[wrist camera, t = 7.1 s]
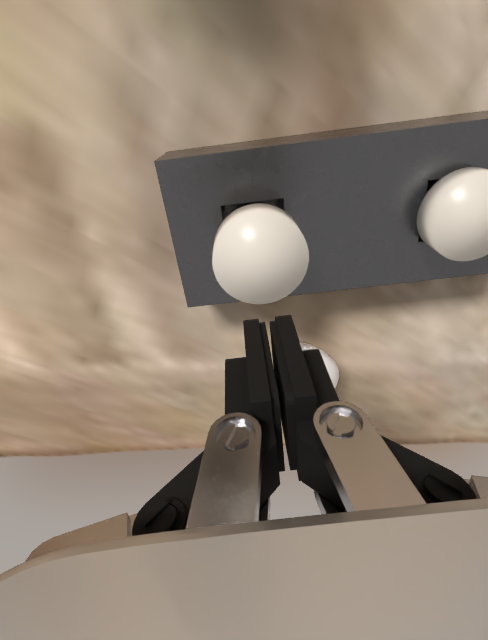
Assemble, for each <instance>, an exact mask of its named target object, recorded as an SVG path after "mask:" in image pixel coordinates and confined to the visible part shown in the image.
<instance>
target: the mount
mask: <svg viewBox="0 0 488 640" xmlns="http://www.w3.org/2000/svg"><path fill="white" fill-rule="evenodd" d="M154 162H155V167H156V171H157V175H158V180H159V184H160V188H161V193H162V197H163V201H164V206H165V210H166V215H167V219H168V223H169V228H170V232H171V236H172V241H173V245H174V249H175V254H176V258H177V262H178V267H179V271H180V275H181V280H182V284H183V288H184V293H185V297H186V301H187V306H188V307H195V306H204V305H213V304H222V303H230V302H239V301H240V300H237V299H235V298H234V297H232V296H231V295H229V294H228V293H227V292H226V291H225V290H224V289H223V288H222V287H221V286H220V284H219V283H218V281H217V279H216V277H215V274H214V271H213V265H212V255H213V247H214V240H215V236H216V233H217V230H218V228H219V226H220V225H221V223H222V222H223V221H224V219H225V218H226V217H227V216H228V215H229V214H231V213H232V212H233V211H235V210H236V209H238V208H240V207H243V206H246V205H250V204H257V203H262V204H269V205H273V206H276V207H278V208H280V209H282V210H284V211H285V212H287V213H288V214H289V215H290V216H291V217H292V218H293V219H294V221H295V222H296V224H297V225H298V227H299V229H300V231H301V233H302V234H303V236H304V238H305V240H306V243H307V246H308V250H309V263H308V268H307V271H306V274H305V276H304V278H303V280H302V281H301V283H300V284H299V286H298V287H297V288H296V289H295V290H294V291H293V292H292V293H290V294H289V295H288V296H292V295H301V294H309V293H318V292H327V291H336V290H344V289H353V288H362V287H371V286H380V285H388V284H397V283H406V282H415V281H424V280H432V279H441V278H450V277H459V276H467V275H476V274H485V273H488V255H486V256H484V257H481V258H478V259H475V260H471V261H454V260H450V259H448V258H446V257H444V256H443V255H441V254H440V253H438V252H437V251H435V250H434V249H433V248H431V247H430V246H428V245H427V244H426V243H425V242H424V241H423V240H422V239H421V237H420V235H419V233H418V229H417V214H418V210H419V207H420V205H421V203H422V200H423V199H424V197H425V195H426V191H427V185H428V180H435V179H439V180H440V179H441V178H443V177H444V176H446V175H447V174H449V173H451V172H453V171H455V170H458V169H461V168H466V167H480V168H484V169H488V111H481V112H473V113H466V114H458V115H450V116H442V117H434V118H427V119H419V120H411V121H403V122H395V123H388V124H380V125H372V126H364V127H356V128H349V129H341V130H333V131H325V132H317V133H310V134H302V135H294V136H286V137H279V138H271V139H263V140H255V141H247V142H240V143H232V144H224V145H216V146H208V147H201V148H193V149H185V150H177V151H169V152H166V153H165V154H164V155H162V156H161V157H159V158H158V159H157V160H155V161H154Z"/></svg>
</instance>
